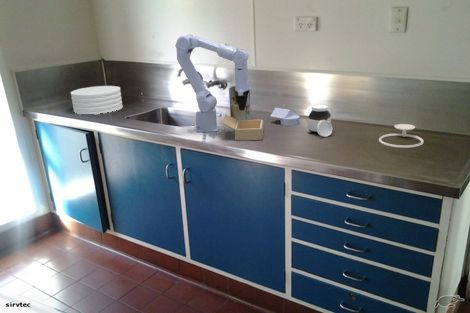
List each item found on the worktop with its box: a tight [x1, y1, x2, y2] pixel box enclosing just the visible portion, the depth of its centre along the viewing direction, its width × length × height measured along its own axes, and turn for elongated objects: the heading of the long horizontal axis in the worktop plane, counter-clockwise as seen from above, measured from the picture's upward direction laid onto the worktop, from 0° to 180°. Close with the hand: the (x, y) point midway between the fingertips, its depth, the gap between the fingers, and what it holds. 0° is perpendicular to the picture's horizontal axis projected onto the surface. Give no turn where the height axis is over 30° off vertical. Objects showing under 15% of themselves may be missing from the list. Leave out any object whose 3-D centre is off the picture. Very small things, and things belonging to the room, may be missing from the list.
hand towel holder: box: [378, 123, 424, 149], centre depth 176 cm, size 17×4×21 cm
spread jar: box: [307, 104, 333, 138], centre depth 189 cm, size 12×11×12 cm
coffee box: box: [228, 85, 252, 121], centre depth 219 cm, size 9×6×16 cm
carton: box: [234, 119, 264, 141], centre depth 192 cm, size 11×16×5 cm
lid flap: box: [221, 114, 238, 131], centre depth 192 cm, size 6×14×1 cm, turn 174°
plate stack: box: [70, 85, 124, 115], centre depth 258 cm, size 28×28×12 cm
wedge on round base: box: [270, 107, 300, 127], centre depth 209 cm, size 9×7×13 cm
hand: (242, 108), depth 197 cm, fingers open, 7 cm apart
